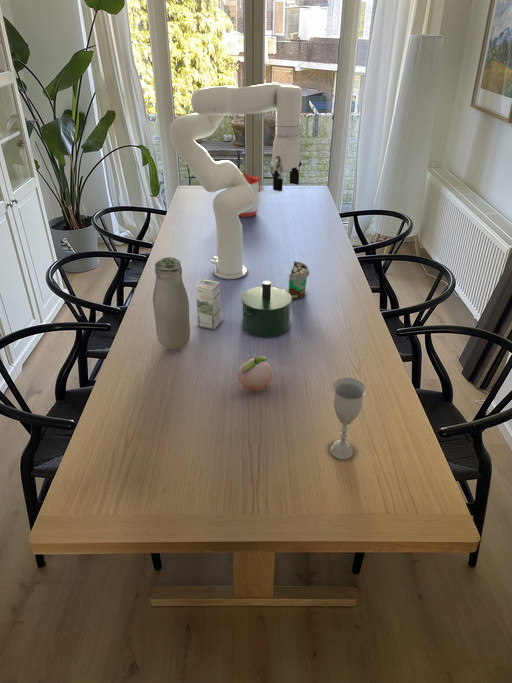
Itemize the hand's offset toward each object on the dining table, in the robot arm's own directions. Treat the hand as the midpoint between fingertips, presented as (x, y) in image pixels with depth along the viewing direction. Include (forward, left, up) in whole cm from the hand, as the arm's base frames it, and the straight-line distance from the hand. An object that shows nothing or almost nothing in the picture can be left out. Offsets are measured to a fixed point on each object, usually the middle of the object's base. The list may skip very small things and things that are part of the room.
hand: (286, 187), depth 167 cm
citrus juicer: (-61, +60, -37) cm, 93 cm away
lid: (+10, -25, -27) cm, 38 cm away
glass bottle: (-5, -51, -37) cm, 63 cm away
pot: (+10, -25, -37) cm, 46 cm away
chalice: (+56, -61, -37) cm, 91 cm away
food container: (+7, 0, -37) cm, 38 cm away
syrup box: (-5, -35, -37) cm, 51 cm away
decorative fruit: (+27, -54, -37) cm, 71 cm away
